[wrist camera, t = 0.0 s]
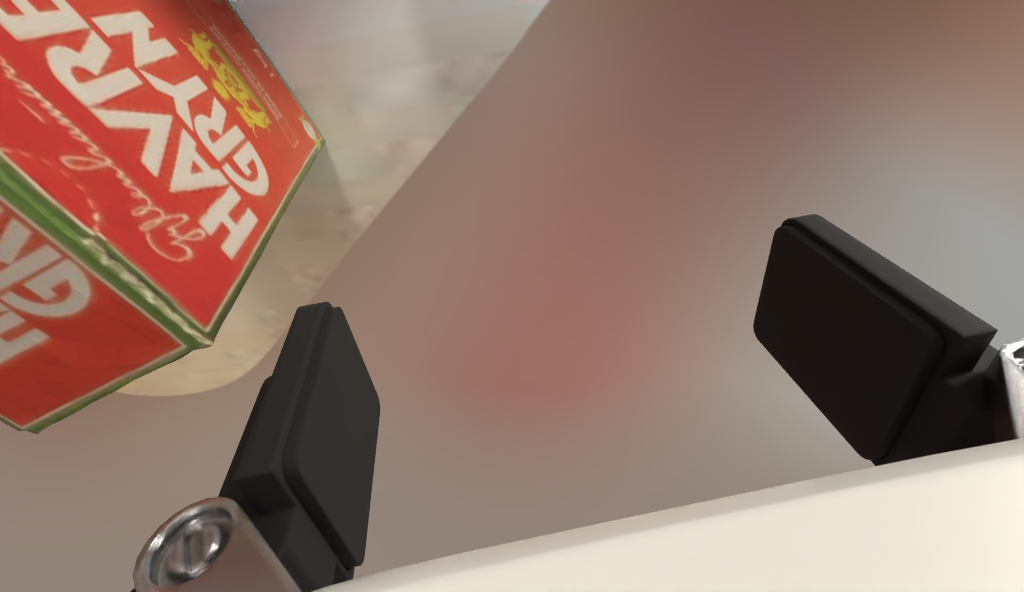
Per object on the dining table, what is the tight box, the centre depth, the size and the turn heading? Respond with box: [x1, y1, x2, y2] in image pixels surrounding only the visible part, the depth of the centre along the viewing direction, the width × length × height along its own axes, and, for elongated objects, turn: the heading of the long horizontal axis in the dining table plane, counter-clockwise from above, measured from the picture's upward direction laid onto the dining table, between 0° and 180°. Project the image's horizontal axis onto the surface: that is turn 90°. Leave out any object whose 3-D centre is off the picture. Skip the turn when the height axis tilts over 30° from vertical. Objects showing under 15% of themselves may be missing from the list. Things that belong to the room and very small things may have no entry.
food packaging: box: [0, 0, 325, 434], centre depth 24 cm, size 13×9×25 cm
